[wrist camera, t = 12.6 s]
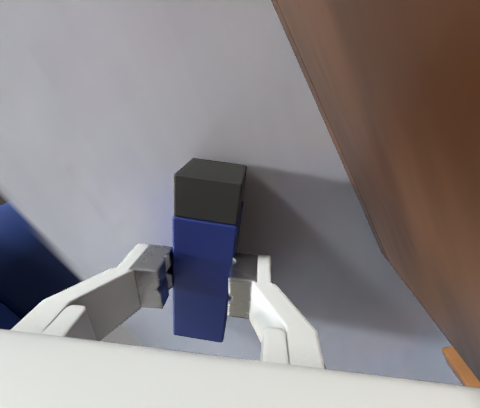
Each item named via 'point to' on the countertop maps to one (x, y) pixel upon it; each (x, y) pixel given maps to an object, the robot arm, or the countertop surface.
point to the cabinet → (406, 137)
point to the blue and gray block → (204, 245)
